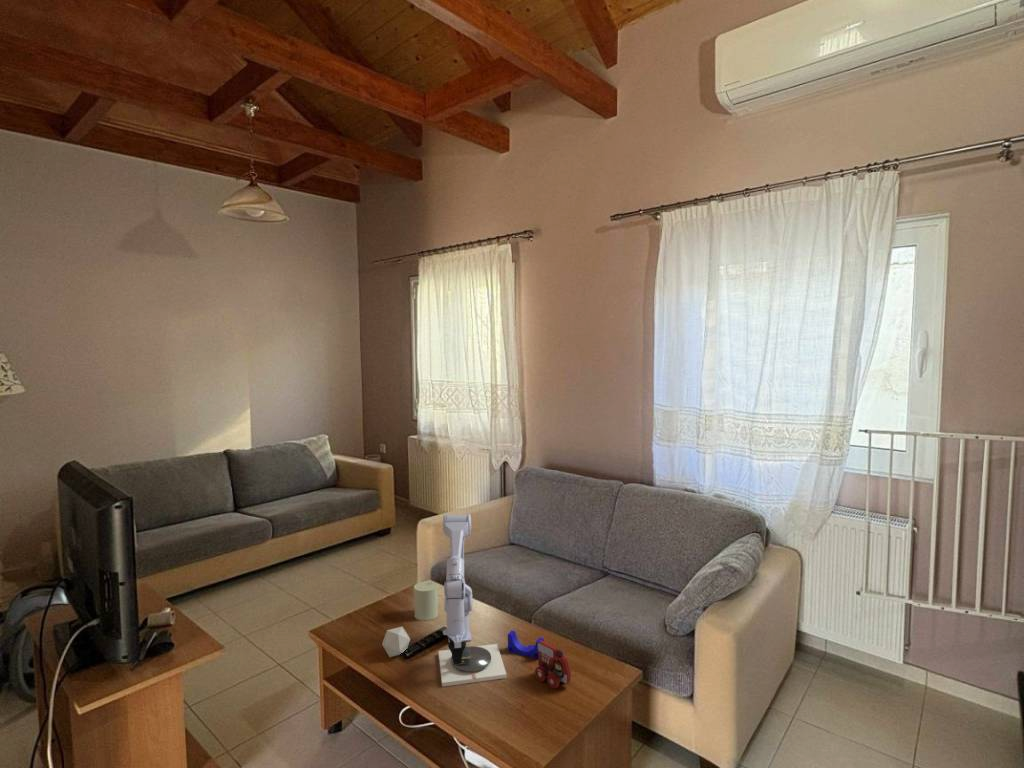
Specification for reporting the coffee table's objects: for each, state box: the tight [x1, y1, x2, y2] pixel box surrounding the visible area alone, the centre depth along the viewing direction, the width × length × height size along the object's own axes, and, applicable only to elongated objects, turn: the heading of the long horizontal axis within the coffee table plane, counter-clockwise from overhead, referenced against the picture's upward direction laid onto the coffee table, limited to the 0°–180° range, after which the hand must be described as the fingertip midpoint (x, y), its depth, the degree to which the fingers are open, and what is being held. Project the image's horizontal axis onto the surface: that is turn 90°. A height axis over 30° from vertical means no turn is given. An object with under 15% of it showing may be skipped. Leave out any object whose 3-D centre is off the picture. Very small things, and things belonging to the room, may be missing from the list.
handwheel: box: [451, 645, 491, 672], centre depth 172 cm, size 13×13×4 cm
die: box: [381, 626, 411, 658], centre depth 180 cm, size 8×9×10 cm
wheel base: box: [438, 643, 508, 688], centre depth 172 cm, size 18×20×2 cm
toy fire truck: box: [534, 641, 572, 690], centre depth 164 cm, size 7×12×10 cm, turn 44°
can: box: [413, 580, 439, 621], centre depth 207 cm, size 9×9×12 cm
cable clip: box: [507, 629, 545, 660], centre depth 180 cm, size 12×4×6 cm, turn 64°
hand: (456, 658), depth 171 cm, fingers open, 6 cm apart
